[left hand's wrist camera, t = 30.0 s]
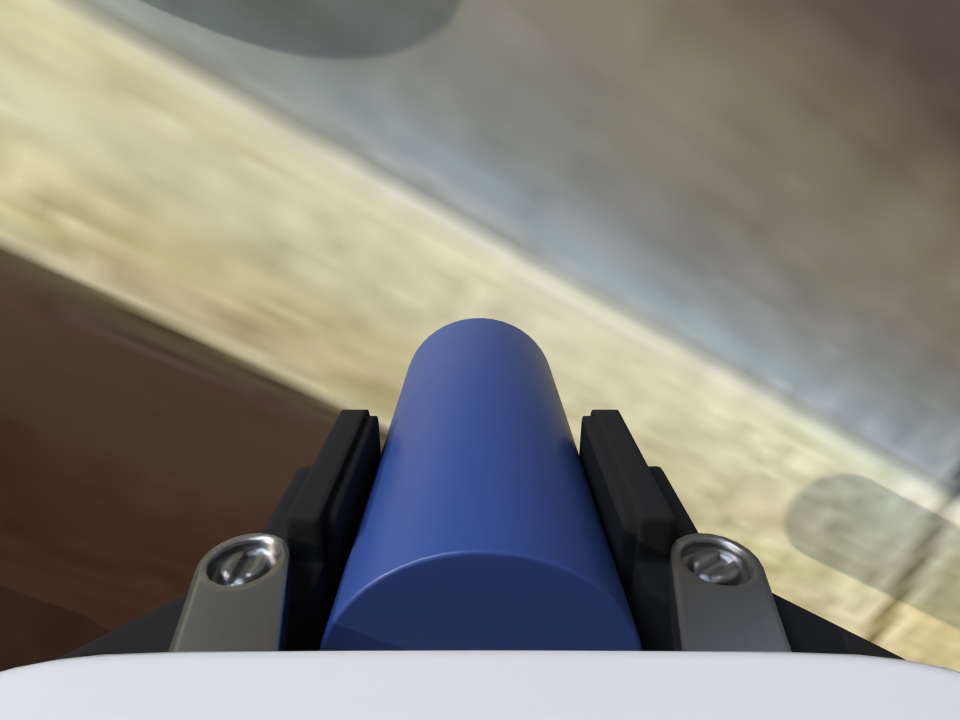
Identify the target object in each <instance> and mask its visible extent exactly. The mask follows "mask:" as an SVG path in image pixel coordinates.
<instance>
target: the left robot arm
mask: <svg viewBox="0 0 960 720" xmlns="http://www.w3.org/2000/svg"><path fill="white" fill-rule="evenodd" d="M380 456H381V451H380V437H379V423H378V417H377V416H370V415H369V411H368V410H342V411H341V413H340V415H339V417H338V419H337V420H336V422H335V424H334V426H333V428H332V430H331V432H330V434H329V436H328V437H327V439H326V441H325V443H324V445H323V447H322V449H321V451H320V453H319V455H318V456H317V458H316V460H315V462H314V464H313V466H303V467H300V468H299V469H298V470H297V472H296V474H295V476H294V477H293V479H292V481H291V483H290V484H289V486H288V488H287V490H286V491H285V493H284V495H283V497H282V498H281V500H280V502H279V504H278V505H277V507H276V509H275V511H274V513H273V514H272V516H271V518H270V520H269V521H268V523H267V525H266V527H265V528H264V530H263V532H262V533H257V534H247V535H243V536H238V537H235V538H232V539H230V540H228V541H225V542H223V543H221V544H220V545H218V546H216V547H215V548H213V549H212V550H210V551H209V552H208V553H207V554H206V555H205V556H204V557H203V558H202V559H201V561H200V563H199V565H198V566H197V568H196V571H195V574H194V577H193V580H192V583H191V586H190V589H189V592H188V593H187V594H185V595H183V596H181V597H179V598H177V599H175V600H173V601H171V602H169V603H167V604H165V605H163V606H161V607H159V608H157V609H155V610H153V611H151V612H149V613H147V614H145V615H143V616H141V617H139V618H137V619H135V620H133V621H131V622H129V623H127V624H125V625H123V626H121V627H119V628H117V629H115V630H113V631H111V632H109V633H107V634H105V635H103V636H101V637H99V638H97V639H95V640H93V641H91V642H89V643H87V644H85V645H83V646H81V647H79V648H77V649H75V650H73V651H71V652H69V653H67V654H65V655H63V656H61V657H59V658H58V659H56V660H53V661H48V662H43V663H38V664H32V665H27V666H22V667H17V668H13V669H9V670H6V671H2V672H0V720H960V672H958V671H954V670H951V669H947V668H943V667H938V666H933V665H928V664H922V663H917V662H912V661H907V660H904V659H903V658H901V657H899V656H897V655H895V654H893V653H891V652H889V651H887V650H885V649H883V648H881V647H879V646H877V645H875V644H873V643H871V642H869V641H867V640H865V639H863V638H861V637H859V636H857V635H855V634H853V633H851V632H849V631H847V630H845V629H843V628H841V627H839V626H837V625H835V624H833V623H831V622H829V621H827V620H825V619H823V618H821V617H819V616H817V615H815V614H813V613H811V612H809V611H807V610H805V609H803V608H801V607H799V606H797V605H795V604H793V603H791V602H789V601H787V600H785V599H783V598H781V597H779V596H777V595H775V594H773V593H772V592H771V589H770V586H769V583H768V580H767V577H766V574H765V571H764V568H763V566H762V565H761V563H760V561H759V559H758V558H757V557H756V556H755V555H754V554H753V553H752V552H751V551H750V550H748V549H747V548H745V547H744V546H742V545H740V544H739V543H737V542H735V541H732V540H730V539H728V538H725V537H722V536H717V535H713V534H703V533H698V531H697V530H696V528H695V526H694V524H693V523H692V521H691V519H690V517H689V516H688V514H687V512H686V510H685V509H684V507H683V505H682V503H681V502H680V500H679V498H678V496H677V495H676V493H675V491H674V489H673V488H672V486H671V484H670V482H669V481H668V479H667V477H666V475H665V473H664V472H663V470H662V469H661V468H660V467H657V466H648V465H647V464H646V462H645V460H644V458H643V456H642V454H641V452H640V450H639V448H638V447H637V445H636V443H635V441H634V439H633V437H632V435H631V433H630V431H629V430H628V428H627V426H626V424H625V422H624V420H623V418H622V416H621V414H620V413H619V411H618V410H592V412H591V415H590V416H583V418H582V425H581V439H580V453H579V457H580V460H581V463H582V466H583V469H584V472H585V475H586V478H587V481H588V484H589V487H590V490H591V493H592V496H593V499H594V502H595V505H596V508H597V511H598V514H599V517H600V520H601V523H602V526H603V529H604V532H605V535H606V538H607V541H608V544H609V547H610V550H611V553H612V556H613V559H614V562H615V565H616V568H617V571H618V574H619V577H620V580H621V583H622V586H623V589H624V592H625V595H626V598H627V601H628V604H629V607H630V610H631V613H632V616H633V619H634V622H635V625H636V628H637V631H638V634H639V637H640V640H641V645H642V649H643V651H319V650H320V646H321V642H322V639H323V635H324V632H325V629H326V626H327V623H328V620H329V617H330V613H331V610H332V607H333V604H334V601H335V598H336V595H337V591H338V588H339V585H340V582H341V579H342V576H343V573H344V569H345V566H346V563H347V560H348V557H349V554H350V551H351V547H352V544H353V541H354V538H355V535H356V532H357V529H358V526H359V522H360V519H361V516H362V513H363V510H364V507H365V504H366V500H367V497H368V494H369V491H370V488H371V485H372V482H373V478H374V475H375V472H376V469H377V466H378V463H379V460H380Z"/></svg>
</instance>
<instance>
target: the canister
mask: <svg viewBox="0 0 960 720" xmlns="http://www.w3.org/2000/svg"><path fill="white" fill-rule="evenodd" d="M319 651H643V649H642V645H641V640H640V637H639V634H638V631H637V628H636V625H635V622H634V619H633V616H632V613H631V610H630V607H629V604H628V601H627V598H626V595H625V592H624V589H623V586H622V583H621V580H620V577H619V574H618V571H617V568H616V565H615V562H614V559H613V556H612V553H611V550H610V547H609V544H608V541H607V538H606V535H605V532H604V529H603V526H602V523H601V520H600V517H599V514H598V511H597V508H596V505H595V502H594V499H593V496H592V493H591V490H590V487H589V484H588V481H587V478H586V475H585V472H584V469H583V466H582V463H581V460H580V457H579V454H578V451H577V448H576V445H575V442H574V439H573V436H572V433H571V430H570V427H569V424H568V421H567V418H566V415H565V412H564V409H563V406H562V403H561V400H560V397H559V394H558V391H557V388H556V385H555V382H554V379H553V376H552V373H551V370H550V367H549V364H548V362H547V359H546V357H545V355H544V354H543V352H542V350H541V349H540V348H539V346H538V345H537V344H536V342H534V341H533V340H532V339H531V338H530V337H529V336H528V335H527V334H525V333H524V332H523V331H521V330H520V329H518V328H516V327H514V326H512V325H510V324H507V323H505V322H502V321H498V320H494V319H485V318H473V319H465V320H461V321H457V322H454V323H451V324H449V325H446V326H444V327H442V328H441V329H439V330H437V331H436V332H434V333H433V334H432V335H431V336H429V337H428V338H427V339H426V340H425V341H424V342H423V343H422V344H421V346H420V347H419V348H418V350H417V351H416V353H415V355H414V356H413V358H412V361H411V363H410V366H409V369H408V372H407V375H406V378H405V381H404V384H403V387H402V390H401V394H400V397H399V400H398V403H397V406H396V409H395V412H394V416H393V419H392V422H391V425H390V428H389V431H388V434H387V438H386V441H385V444H384V447H383V450H382V453H381V456H380V460H379V463H378V466H377V469H376V472H375V475H374V478H373V482H372V485H371V488H370V491H369V494H368V497H367V500H366V504H365V507H364V510H363V513H362V516H361V519H360V522H359V526H358V529H357V532H356V535H355V538H354V541H353V544H352V547H351V551H350V554H349V557H348V560H347V563H346V566H345V569H344V573H343V576H342V579H341V582H340V585H339V588H338V591H337V595H336V598H335V601H334V604H333V607H332V610H331V613H330V617H329V620H328V623H327V626H326V629H325V632H324V635H323V639H322V642H321V646H320V650H319Z"/></svg>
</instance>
